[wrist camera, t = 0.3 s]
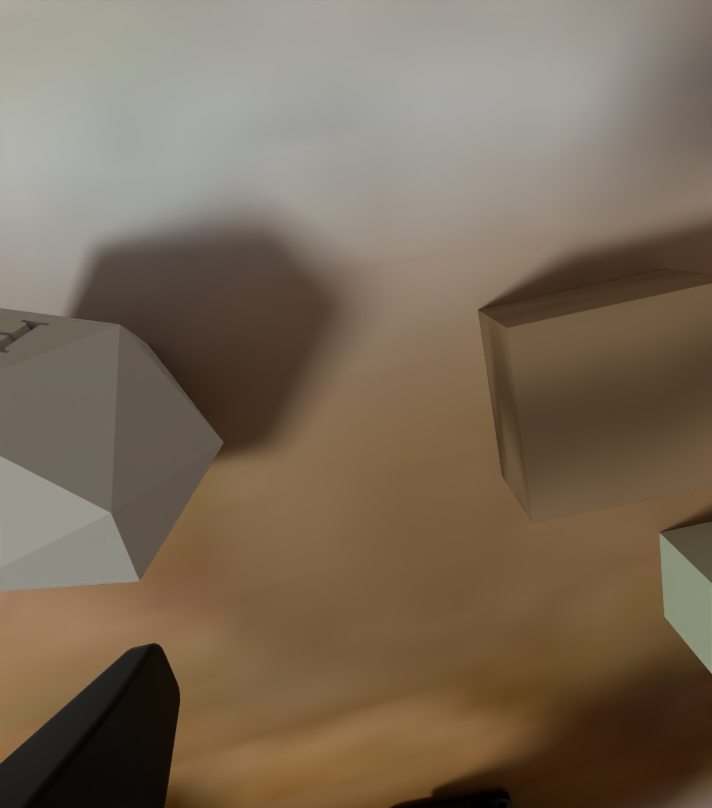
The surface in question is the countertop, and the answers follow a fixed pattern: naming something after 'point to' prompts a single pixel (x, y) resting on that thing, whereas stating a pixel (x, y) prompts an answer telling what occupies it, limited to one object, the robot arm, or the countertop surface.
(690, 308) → the walnut base
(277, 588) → the countertop surface
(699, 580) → the sage block
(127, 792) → the robot arm
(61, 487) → the die
